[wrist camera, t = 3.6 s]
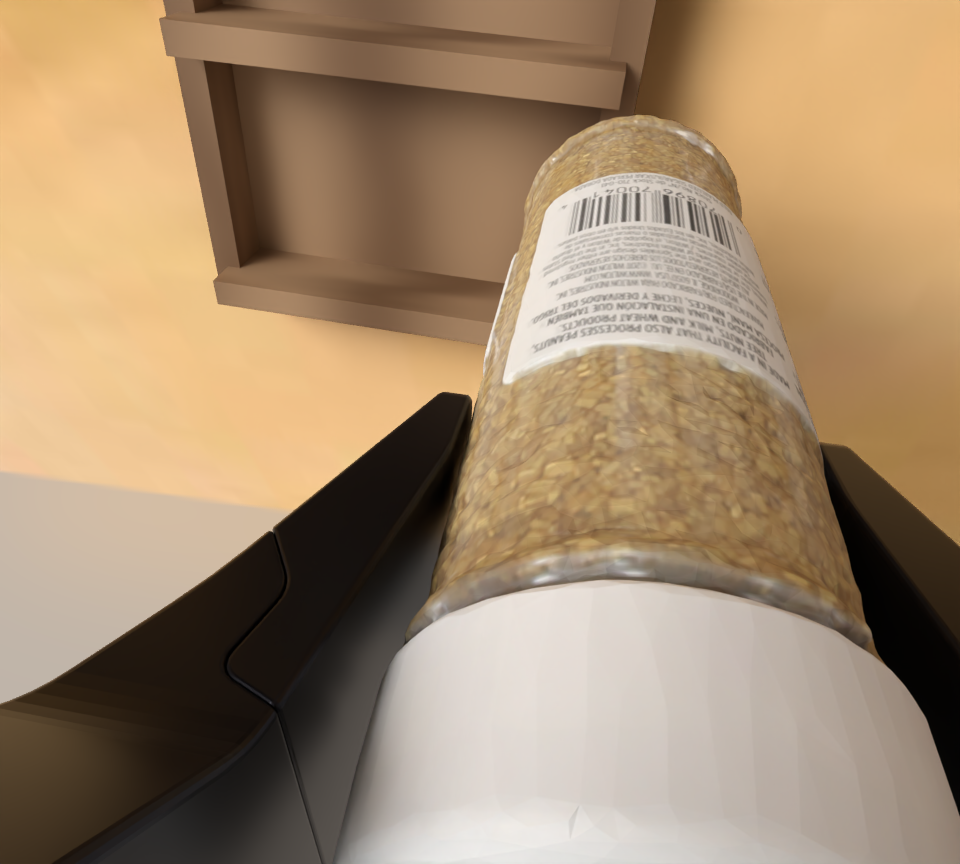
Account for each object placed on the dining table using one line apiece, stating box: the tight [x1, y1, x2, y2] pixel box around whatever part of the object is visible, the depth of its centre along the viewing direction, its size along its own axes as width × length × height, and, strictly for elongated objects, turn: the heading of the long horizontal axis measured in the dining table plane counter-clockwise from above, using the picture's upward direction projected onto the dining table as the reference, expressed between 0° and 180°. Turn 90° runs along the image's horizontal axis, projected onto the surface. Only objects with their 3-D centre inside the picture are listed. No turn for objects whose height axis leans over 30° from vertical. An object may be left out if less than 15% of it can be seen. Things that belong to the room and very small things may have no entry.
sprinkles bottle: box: [332, 115, 960, 864], centre depth 10 cm, size 5×4×13 cm
